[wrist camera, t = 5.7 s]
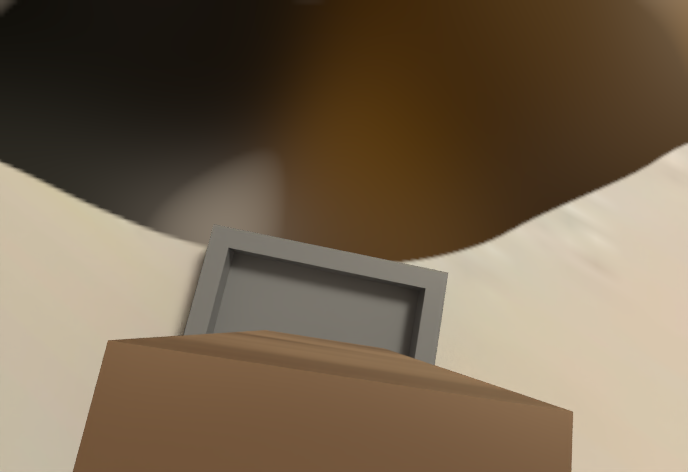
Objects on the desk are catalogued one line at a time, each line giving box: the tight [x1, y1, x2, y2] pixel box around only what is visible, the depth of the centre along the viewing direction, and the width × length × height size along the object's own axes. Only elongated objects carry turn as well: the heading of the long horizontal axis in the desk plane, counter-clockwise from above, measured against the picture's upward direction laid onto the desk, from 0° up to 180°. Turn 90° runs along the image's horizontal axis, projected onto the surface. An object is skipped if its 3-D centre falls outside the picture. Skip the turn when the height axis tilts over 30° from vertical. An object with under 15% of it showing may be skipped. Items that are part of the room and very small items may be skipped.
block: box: [73, 330, 573, 472], centre depth 9 cm, size 4×4×12 cm
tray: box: [184, 224, 448, 365], centre depth 21 cm, size 13×12×2 cm
